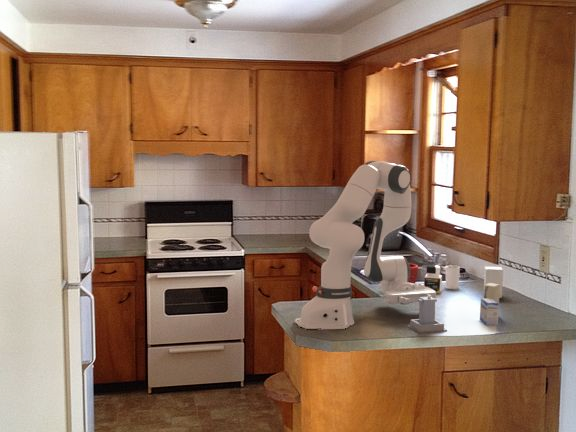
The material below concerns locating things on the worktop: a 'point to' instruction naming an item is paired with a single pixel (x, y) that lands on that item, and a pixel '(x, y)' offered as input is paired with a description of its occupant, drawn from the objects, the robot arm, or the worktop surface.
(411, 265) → the plant pot
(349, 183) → the robot arm
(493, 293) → the box
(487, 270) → the supplement box
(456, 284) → the drinking glass
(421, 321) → the block
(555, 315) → the worktop surface
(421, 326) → the pocket plate
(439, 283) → the medicine bottle
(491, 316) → the medicine box
